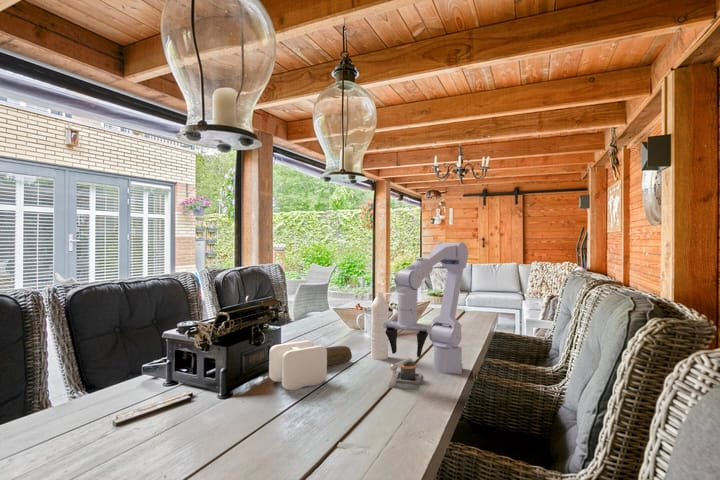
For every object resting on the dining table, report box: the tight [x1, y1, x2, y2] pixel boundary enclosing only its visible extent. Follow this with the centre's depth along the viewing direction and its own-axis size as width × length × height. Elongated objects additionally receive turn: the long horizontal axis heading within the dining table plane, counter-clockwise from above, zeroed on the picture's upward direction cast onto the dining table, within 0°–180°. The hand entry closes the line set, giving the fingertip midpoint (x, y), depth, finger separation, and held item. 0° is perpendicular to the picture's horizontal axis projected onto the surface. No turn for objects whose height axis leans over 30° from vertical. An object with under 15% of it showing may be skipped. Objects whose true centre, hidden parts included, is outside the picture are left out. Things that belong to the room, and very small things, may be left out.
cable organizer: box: [268, 339, 328, 392], centre depth 116 cm, size 15×11×12 cm
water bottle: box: [370, 291, 392, 361], centre depth 139 cm, size 9×6×25 cm
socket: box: [387, 368, 423, 391], centre depth 116 cm, size 9×14×6 cm, turn 166°
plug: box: [400, 360, 417, 381], centre depth 118 cm, size 5×5×5 cm
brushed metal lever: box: [390, 357, 413, 370], centre depth 115 cm, size 10×2×1 cm, turn 140°
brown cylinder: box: [325, 345, 353, 368], centre depth 132 cm, size 15×7×7 cm, turn 131°
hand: (406, 354), depth 112 cm, fingers open, 7 cm apart
